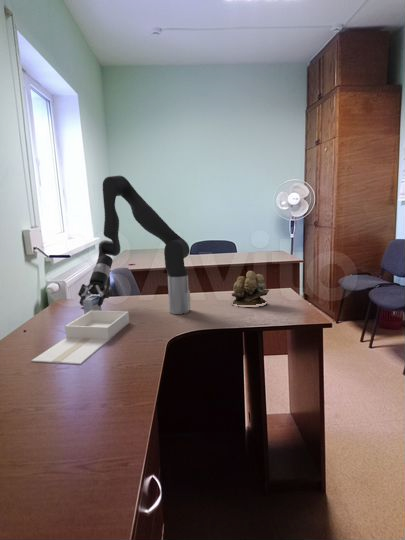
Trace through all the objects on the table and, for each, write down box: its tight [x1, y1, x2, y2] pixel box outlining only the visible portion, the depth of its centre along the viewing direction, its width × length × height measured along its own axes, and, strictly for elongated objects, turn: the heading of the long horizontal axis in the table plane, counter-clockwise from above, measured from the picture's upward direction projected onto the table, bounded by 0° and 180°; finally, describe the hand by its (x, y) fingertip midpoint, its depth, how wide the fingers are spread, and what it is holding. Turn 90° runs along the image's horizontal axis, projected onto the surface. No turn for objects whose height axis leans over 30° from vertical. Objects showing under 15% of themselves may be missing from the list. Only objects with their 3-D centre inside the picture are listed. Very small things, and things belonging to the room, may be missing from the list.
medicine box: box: [82, 295, 103, 315], centre depth 151 cm, size 8×4×9 cm, turn 168°
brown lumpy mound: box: [231, 270, 270, 305], centre depth 160 cm, size 18×12×17 cm, turn 88°
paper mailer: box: [31, 310, 130, 365], centre depth 123 cm, size 17×38×5 cm, turn 169°
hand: (90, 305), depth 149 cm, fingers open, 8 cm apart
